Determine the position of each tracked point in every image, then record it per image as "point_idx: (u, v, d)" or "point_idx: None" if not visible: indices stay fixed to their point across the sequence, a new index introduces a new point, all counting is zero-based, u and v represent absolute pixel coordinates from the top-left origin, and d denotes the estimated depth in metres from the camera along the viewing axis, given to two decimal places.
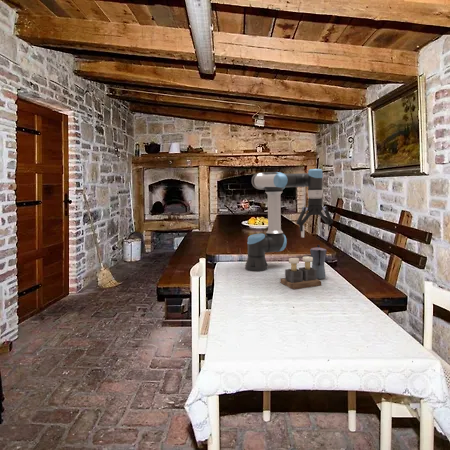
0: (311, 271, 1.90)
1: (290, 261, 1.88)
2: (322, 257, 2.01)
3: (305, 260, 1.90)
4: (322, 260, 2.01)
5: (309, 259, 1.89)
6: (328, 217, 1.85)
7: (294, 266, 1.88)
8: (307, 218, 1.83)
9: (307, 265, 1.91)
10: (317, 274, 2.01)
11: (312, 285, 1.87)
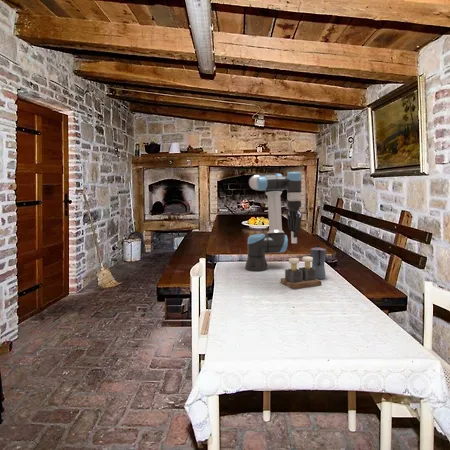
0: (311, 271, 1.90)
1: (290, 261, 1.88)
2: (322, 257, 2.01)
3: (305, 260, 1.90)
4: (322, 260, 2.01)
5: (309, 259, 1.89)
6: (296, 223, 1.83)
7: (294, 266, 1.88)
8: (291, 222, 1.87)
9: (307, 265, 1.91)
10: (317, 274, 2.01)
11: (312, 285, 1.87)
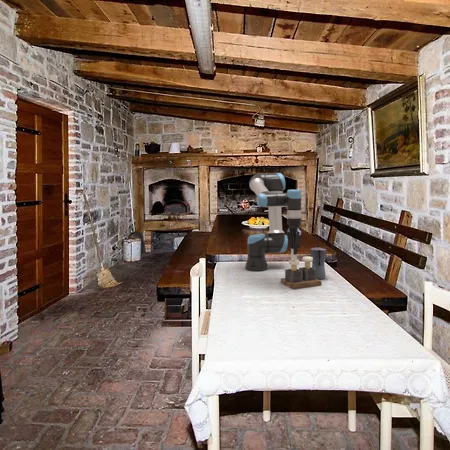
0: (311, 271, 1.90)
1: (290, 262, 1.88)
2: (322, 257, 2.01)
3: (305, 260, 1.90)
4: (322, 260, 2.01)
5: (309, 259, 1.89)
6: (296, 241, 1.84)
7: (294, 267, 1.88)
8: (291, 239, 1.88)
9: (307, 265, 1.91)
10: (317, 274, 2.01)
11: (312, 285, 1.87)
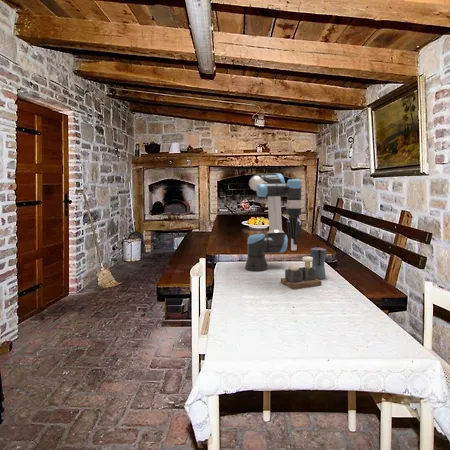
0: (311, 271, 1.90)
1: (290, 268, 1.88)
2: (322, 257, 2.01)
3: (305, 260, 1.90)
4: (322, 260, 2.01)
5: (309, 259, 1.89)
6: None
7: None
8: (291, 229, 1.88)
9: (307, 265, 1.91)
10: (317, 274, 2.01)
11: (312, 285, 1.87)
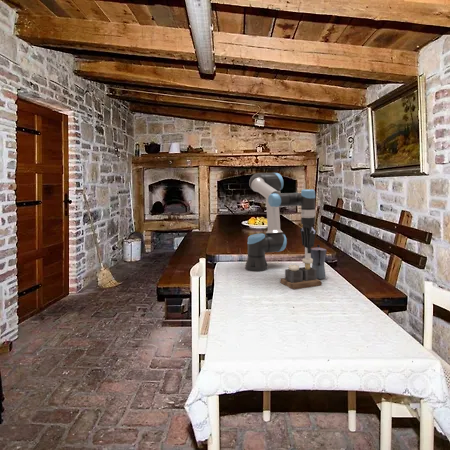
0: (311, 271, 1.90)
1: (290, 268, 1.88)
2: (322, 257, 2.01)
3: (305, 262, 1.90)
4: (322, 260, 2.01)
5: (309, 261, 1.90)
6: (310, 240, 1.88)
7: None
8: (305, 238, 1.91)
9: (307, 267, 1.91)
10: (317, 274, 2.01)
11: (312, 285, 1.87)
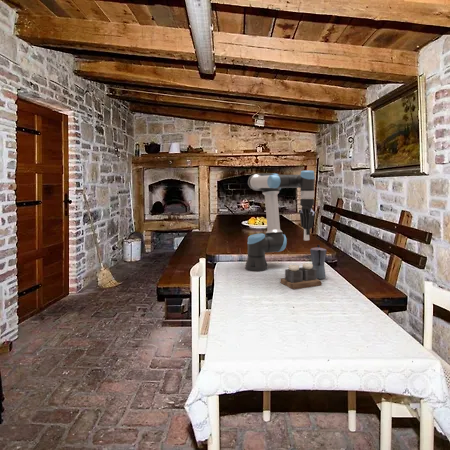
0: (311, 271, 1.90)
1: (290, 268, 1.88)
2: (322, 257, 2.01)
3: (305, 267, 1.91)
4: (322, 260, 2.01)
5: (309, 266, 1.90)
6: None
7: None
8: (304, 219, 1.91)
9: None
10: (317, 274, 2.01)
11: (312, 285, 1.87)
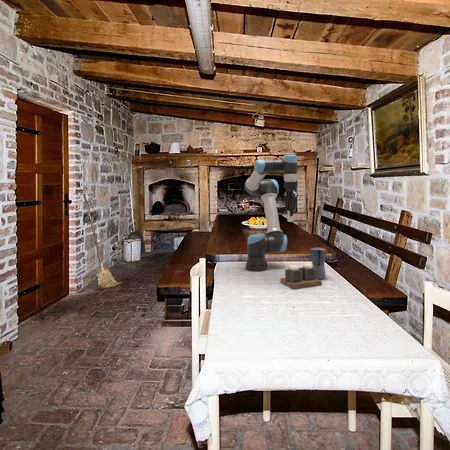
0: (311, 271, 1.90)
1: (290, 268, 1.88)
2: (322, 257, 2.01)
3: (305, 267, 1.91)
4: (322, 260, 2.01)
5: (309, 266, 1.90)
6: (292, 203, 1.96)
7: None
8: (287, 202, 2.00)
9: None
10: (317, 274, 2.01)
11: (312, 285, 1.87)
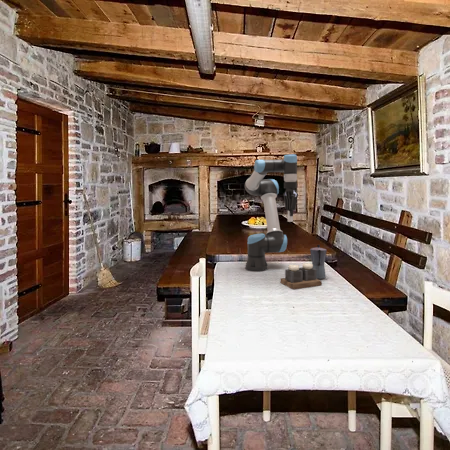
0: (311, 271, 1.90)
1: (290, 268, 1.88)
2: (322, 257, 2.01)
3: (305, 267, 1.91)
4: (322, 260, 2.01)
5: (309, 266, 1.90)
6: (292, 203, 1.96)
7: None
8: (287, 202, 2.00)
9: None
10: (317, 274, 2.01)
11: (312, 285, 1.87)
